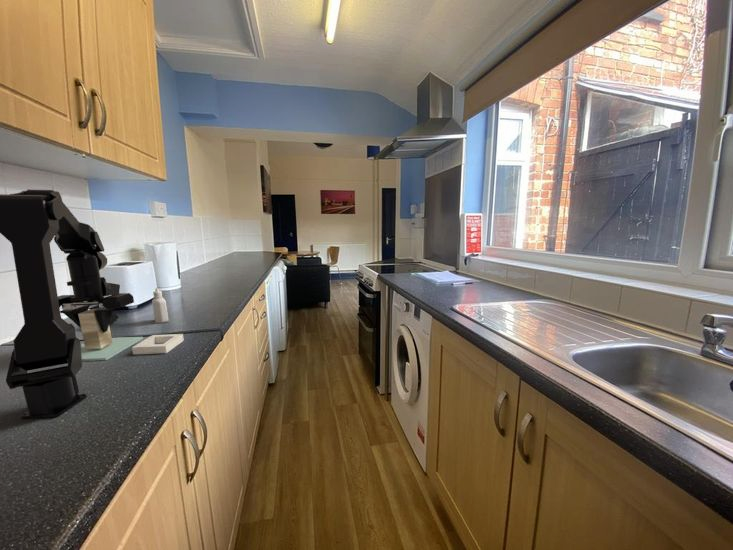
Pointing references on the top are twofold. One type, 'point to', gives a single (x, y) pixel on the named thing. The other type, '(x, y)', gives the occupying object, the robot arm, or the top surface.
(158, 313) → the eye dropper bottle
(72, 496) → the top surface
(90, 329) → the peg
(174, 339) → the beige square frame
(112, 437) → the top surface
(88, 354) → the pad
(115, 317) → the tape measure
